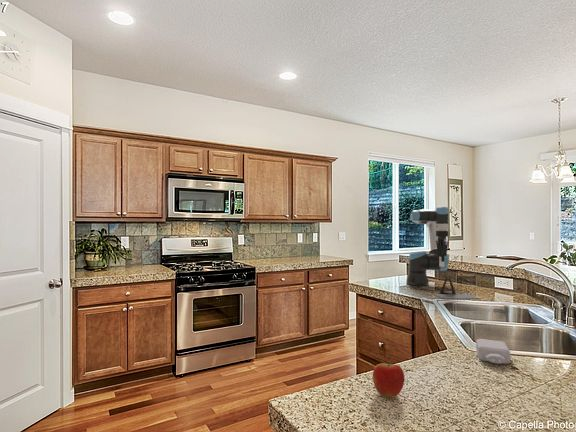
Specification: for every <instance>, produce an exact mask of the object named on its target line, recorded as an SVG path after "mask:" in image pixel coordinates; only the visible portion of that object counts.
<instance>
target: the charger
mask: <svg viewBox="0 0 576 432" xmlns="http://www.w3.org/2000/svg"><path fill="white" fill-rule="evenodd" d="M475 350H476V354H477V357H478V360H480V361H484V362H490V363H493V364H499V365H501V364H505V365H507V364H510V363H511V351H510V349H509V347H508V345H507V344H506V342H504V341H501V340H492V339H486V338H478V339H476V342H475Z"/></svg>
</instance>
